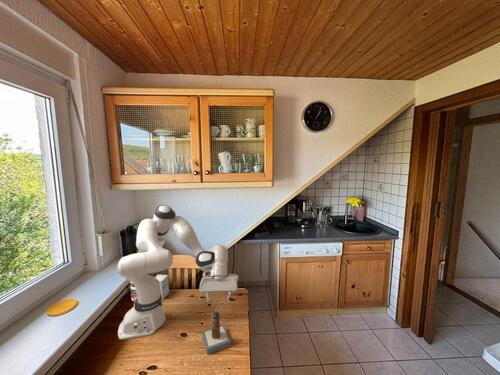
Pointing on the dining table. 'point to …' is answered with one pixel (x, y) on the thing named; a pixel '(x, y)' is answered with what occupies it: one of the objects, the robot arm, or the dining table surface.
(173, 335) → the dining table surface
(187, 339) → the dining table surface
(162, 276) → the supplement box
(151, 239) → the robot arm
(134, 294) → the decorative candle
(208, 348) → the base
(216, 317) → the pepper mill
